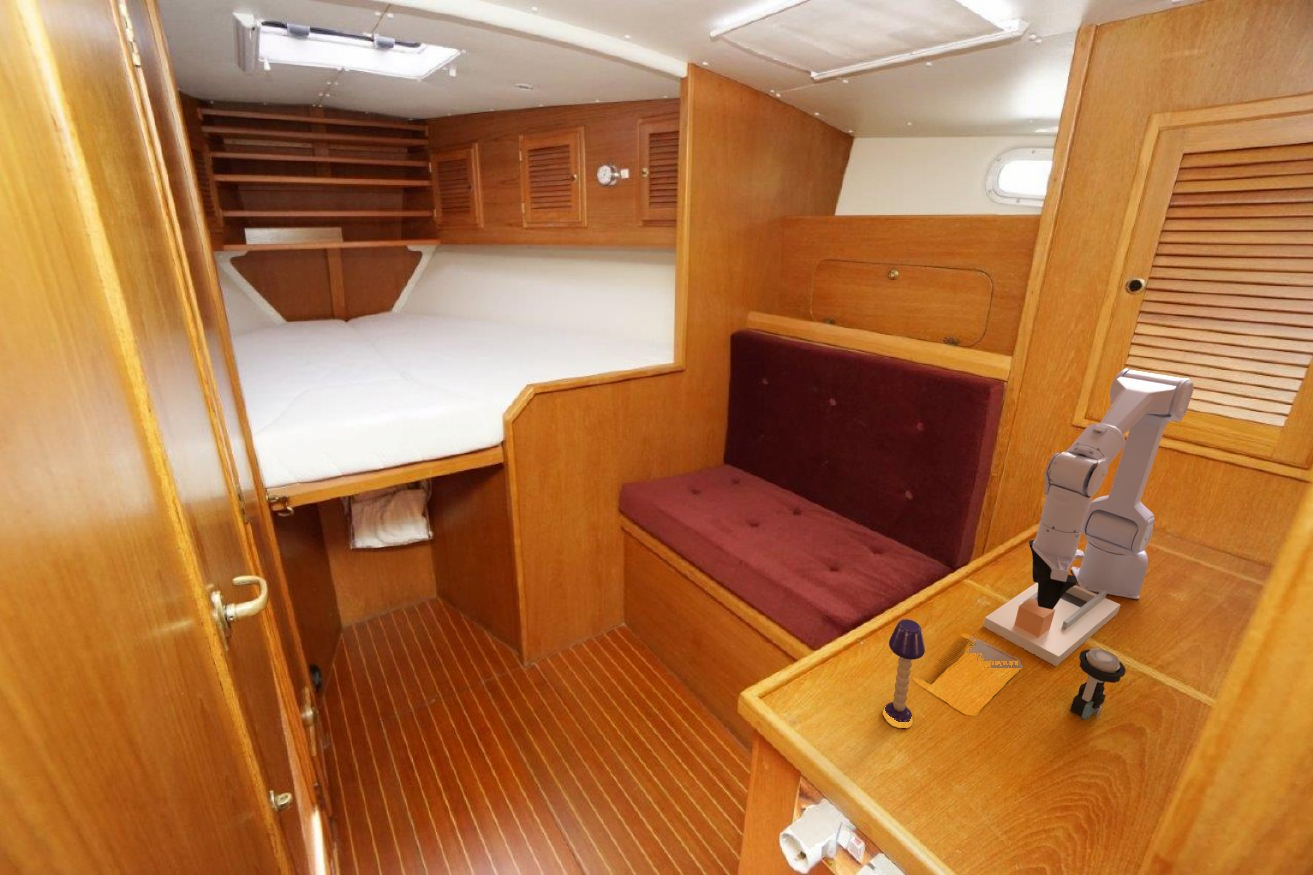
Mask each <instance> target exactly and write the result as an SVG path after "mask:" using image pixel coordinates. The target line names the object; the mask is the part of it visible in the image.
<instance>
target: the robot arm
mask: <svg viewBox="0 0 1313 875" xmlns="http://www.w3.org/2000/svg"><path fill="white" fill-rule="evenodd" d="M1193 393H1194V383H1193V382H1192V379H1191V378H1188V377H1185V378H1182V377H1176V376H1170V375H1165V374H1158V373H1150V372H1146V371H1138V370H1134V369H1131V368H1124V369H1122V370H1121V371H1119V372H1118V373H1117V374H1116V376H1115V377H1114V378H1113V381H1112V383H1111V386H1110V390H1109V397H1110V404H1111V405H1110V407H1109V409H1107V411H1106V413H1105V414H1104V416H1103V418H1102V419H1101V420H1100V422H1099V423H1098V422H1097V423H1092V424H1089V425H1087V427H1086V428H1084V430H1083V431H1082V433H1080V435H1078V437H1077V438H1076V439H1075V440H1074V442H1073V443H1072V444H1071V445H1070V446H1069V447H1068V448H1067V450H1066V451H1062V452H1061V453H1060V452H1057V453H1055V454H1054V455H1053V456H1052V457H1051V459H1049V462H1048V464H1047V467H1046V469H1045V472H1044V485H1045V486H1044V489H1043V492H1044V494H1045V495H1046V497H1045V500H1044V504H1043V507H1042V512H1041V516H1040V520H1039V524H1038V529H1037V531H1036V536H1035V539H1030V540H1028V544H1029V545H1028V546H1029V548H1030V551H1031V555H1032V570H1031V571H1032V574H1031V575H1032V582H1033V583H1038V594H1037V602H1038V606H1039V607H1043V608H1047V609H1051V610H1052V609H1053V608H1054V607H1055V606H1056V604H1057V603H1058V601H1059V600H1060V598H1061V597H1062V595H1063V594H1064V593H1065V592H1066V591H1067V590H1069V589H1070V588H1071V587H1073V586H1075V585H1077V584H1078V586H1079V587H1081V588H1084V589H1086V590H1088V591H1090V592H1093V593H1098V594H1099V593H1100V592H1101V591H1103V590H1106V591H1107V594H1106V595H1110V596H1111V595H1112V596H1117V597H1124V598H1128V599H1135V600H1139V599H1140V598H1141V597H1140V591H1141V590H1142V586H1143V582H1144V579H1145V577H1146V574H1147V572H1148V565H1149V558H1148V554H1147V552H1146V550H1145V549H1146V548H1147V547H1148V545H1149V543H1150V541H1151V538H1152V537H1153V536H1152V535H1153V532H1154V528H1153V527H1154V525H1155V524H1154V523H1155V520H1156V519H1155V515H1154V512H1152V511H1151V510H1150V509H1148V507H1146V506H1145V505H1144V503H1143V502H1142V498H1143V495H1144V493H1145V492H1144V491H1145V490H1146V486H1147V482H1148V480H1149V478H1150V474H1151V471H1152V467H1153V464H1154V463H1155V459H1156V456H1157V453H1158V451H1159V446H1160V444H1161V441H1162V439H1163V435H1164V432H1165V429H1166V428H1167V426H1168V424H1169V423H1171V422H1181V421H1183V418H1184V417H1185V415H1186V414H1187V411H1188V408H1189V405H1190V403H1191V399H1192V396H1193ZM1126 433H1128V434H1127V437H1126V438H1125V434H1126ZM1121 451H1122V453H1121ZM1120 453H1121V456H1120V459H1119V463H1118V465H1117V469H1116V472H1115V475H1114V479H1113V482H1112V485H1111V487H1110V490H1109V494H1108V495H1103V496H1099V497H1095V499H1093V500H1092V497H1094V495H1096V494H1097V493H1098V491H1099V490H1100V488H1101V486H1102V485H1103V481H1104V480H1105V478H1106V476H1107V474H1108V473H1109V466H1110V465H1111V463H1112V462H1113V461H1114V460H1115V458H1116V457H1117V456H1118V455H1119V454H1120ZM1082 534H1083V535H1084V536H1085V538H1084V540H1085V541H1087V543H1086V545H1085V546H1086V547H1085V549H1084V551H1083V550H1081V549H1080V548H1079V549H1078V546H1079V543H1080V540H1081V536H1082ZM1076 559H1078V560H1081V563H1080V567H1075V566H1073V563H1074V562H1075V560H1076ZM1071 566H1072V567H1071ZM1069 569H1071V572H1072V573H1073V575H1072V574H1069V573H1070V571H1069Z"/></svg>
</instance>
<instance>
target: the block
mask: <svg viewBox="0 0 1313 875" xmlns="http://www.w3.org/2000/svg"><path fill="white" fill-rule="evenodd" d="M1054 613H1055V609H1052V610H1051V609H1047V608H1043V607H1039V606H1038V602H1037V601H1036V600H1034V599H1032V598H1030V599H1028V600H1027V601H1025V602H1024V603H1022V604H1021V605H1020V606H1019V608H1018V612H1017V616H1016V620H1015V624H1014V625H1016V626H1018V627H1020V628H1022V629H1023V630H1025V631H1027V632H1029V633H1031V634H1033V635H1035V636H1037V637H1040V636H1041V635H1043V634H1044V633H1045V632H1046V631H1048V630H1049V629H1050V627H1051V623H1052V620H1053V616H1054Z"/></svg>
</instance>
